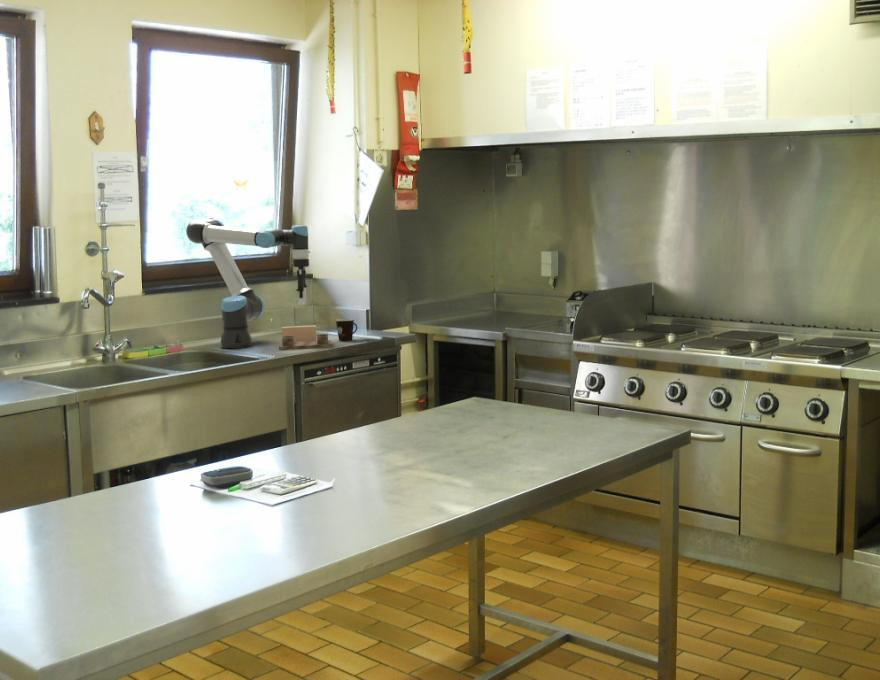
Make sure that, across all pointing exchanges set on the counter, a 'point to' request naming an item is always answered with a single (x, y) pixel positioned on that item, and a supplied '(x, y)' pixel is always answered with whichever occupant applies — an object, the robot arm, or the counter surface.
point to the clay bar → (300, 333)
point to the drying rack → (305, 343)
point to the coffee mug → (345, 329)
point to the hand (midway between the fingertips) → (302, 303)
